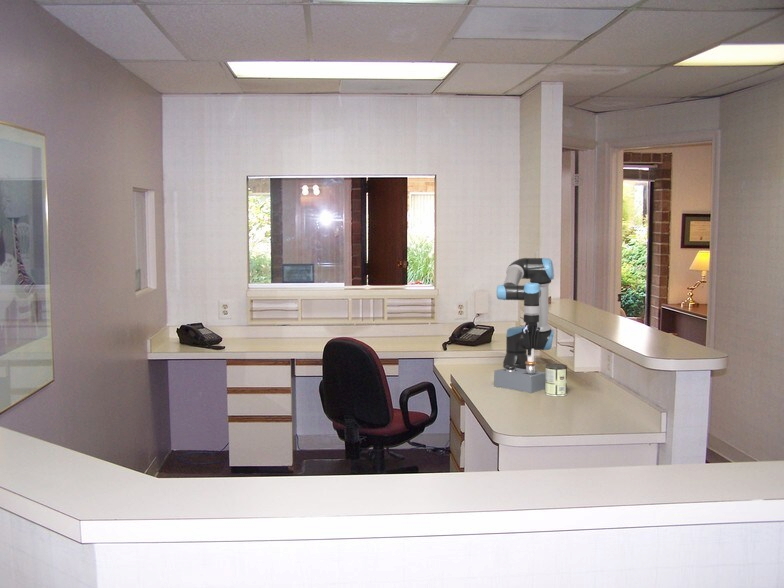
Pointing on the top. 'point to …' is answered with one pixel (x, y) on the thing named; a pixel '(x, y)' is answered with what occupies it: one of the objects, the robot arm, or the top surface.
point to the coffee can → (556, 380)
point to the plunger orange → (530, 367)
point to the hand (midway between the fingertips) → (530, 361)
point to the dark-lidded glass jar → (510, 368)
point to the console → (519, 380)
